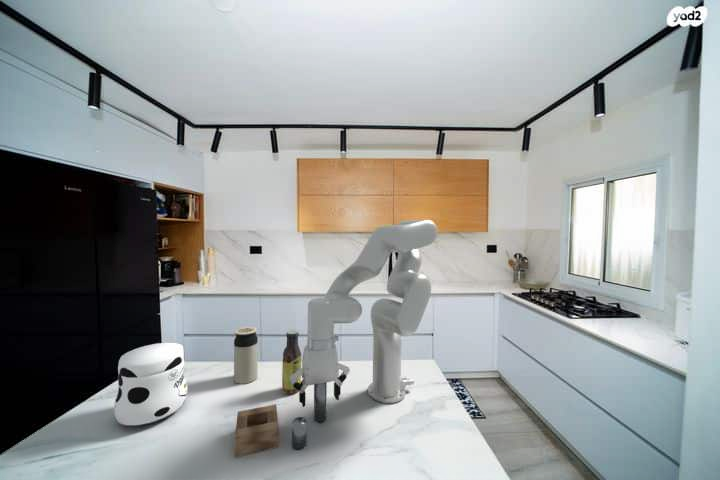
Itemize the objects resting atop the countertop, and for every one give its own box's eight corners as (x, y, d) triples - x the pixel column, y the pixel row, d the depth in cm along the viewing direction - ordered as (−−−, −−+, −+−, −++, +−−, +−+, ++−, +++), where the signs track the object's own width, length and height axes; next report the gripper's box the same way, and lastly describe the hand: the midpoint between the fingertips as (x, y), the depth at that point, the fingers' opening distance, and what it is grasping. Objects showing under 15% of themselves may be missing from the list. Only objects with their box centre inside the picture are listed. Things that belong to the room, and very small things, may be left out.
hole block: (276, 421, 80) (276, 404, 79) (278, 446, 70) (278, 427, 70) (237, 429, 76) (237, 411, 76) (234, 457, 67) (234, 436, 67)
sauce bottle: (296, 396, 92) (296, 336, 91) (278, 394, 93) (278, 334, 93) (304, 386, 98) (304, 329, 98) (287, 383, 100) (287, 328, 99)
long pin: (324, 414, 83) (325, 374, 83) (327, 421, 80) (327, 380, 80) (312, 416, 82) (313, 376, 82) (315, 424, 79) (315, 382, 78)
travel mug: (252, 384, 99) (252, 334, 98) (229, 384, 99) (230, 333, 98) (260, 373, 107) (260, 326, 106) (239, 373, 107) (240, 326, 106)
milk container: (200, 404, 87) (200, 347, 87) (136, 441, 71) (135, 371, 71) (165, 390, 94) (165, 337, 94) (101, 421, 79) (100, 358, 78)
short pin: (305, 438, 73) (305, 415, 73) (307, 448, 70) (307, 424, 70) (291, 441, 72) (291, 418, 72) (292, 452, 69) (293, 427, 68)
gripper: (345, 334, 87) (345, 388, 87) (288, 340, 81) (287, 399, 81) (353, 343, 80) (352, 402, 80) (291, 351, 74) (290, 415, 74)
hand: (320, 400), depth 81 cm, fingers open, 9 cm apart
